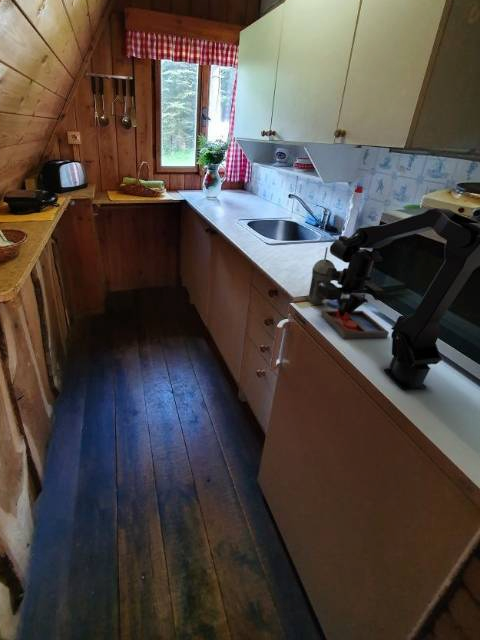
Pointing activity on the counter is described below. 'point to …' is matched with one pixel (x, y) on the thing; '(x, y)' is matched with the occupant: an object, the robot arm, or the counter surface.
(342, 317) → the red spoon
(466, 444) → the counter surface
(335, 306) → the blue spoon
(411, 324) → the robot arm
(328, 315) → the tray
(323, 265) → the beverage cup
